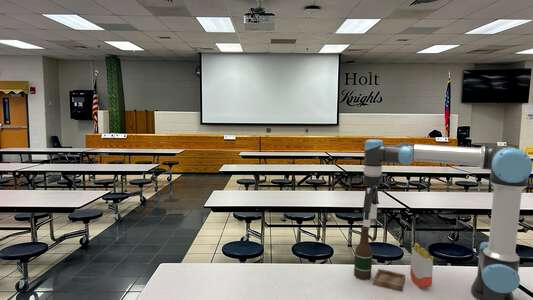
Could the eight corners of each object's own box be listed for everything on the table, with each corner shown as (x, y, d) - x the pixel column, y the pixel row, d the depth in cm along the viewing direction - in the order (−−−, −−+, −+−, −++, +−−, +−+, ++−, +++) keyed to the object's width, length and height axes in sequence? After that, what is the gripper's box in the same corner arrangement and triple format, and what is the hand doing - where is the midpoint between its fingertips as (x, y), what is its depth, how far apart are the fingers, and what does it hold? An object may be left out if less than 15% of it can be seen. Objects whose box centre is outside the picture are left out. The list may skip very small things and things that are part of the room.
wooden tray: (405, 279, 162) (405, 274, 162) (401, 291, 152) (402, 286, 151) (378, 273, 168) (378, 268, 168) (373, 284, 157) (373, 279, 157)
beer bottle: (371, 281, 160) (374, 230, 157) (354, 279, 162) (356, 229, 159) (370, 273, 168) (373, 224, 165) (353, 271, 169) (356, 223, 166)
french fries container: (419, 278, 164) (421, 241, 162) (432, 290, 153) (435, 251, 151) (409, 278, 163) (412, 241, 161) (422, 291, 153) (425, 251, 150)
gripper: (369, 170, 166) (367, 213, 169) (356, 178, 145) (354, 228, 147) (386, 171, 163) (383, 216, 165) (375, 180, 141) (372, 232, 144)
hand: (370, 222), depth 156 cm, fingers open, 13 cm apart
